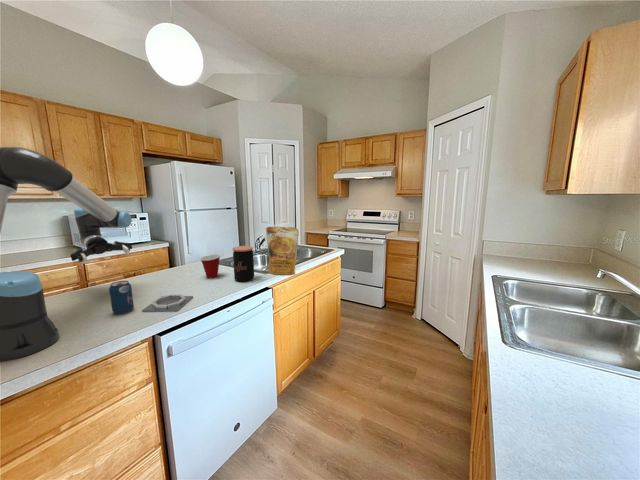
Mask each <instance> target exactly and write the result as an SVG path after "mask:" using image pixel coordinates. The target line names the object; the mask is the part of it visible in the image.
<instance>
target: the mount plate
mask: <svg viewBox="0 0 640 480" xmlns="http://www.w3.org/2000/svg"><path fill="white" fill-rule="evenodd" d="M193 298H194V296H193V295H183V294H168V295H164V296H160V297H157V298H156V299H154V300H153V301H152V302H151V303H150V304H148V305H147V306H146V307H144V308H143V309H141V313H158V312H159V313H161V312H162V313H166V312H167V313H168V312H170V313H171V312H173V313H174V312H175V313H176V312H179V311H180V310H181V309H182V308H184V307H185V306H186V305H187V304H188V303H189V302H190V301H191V300H192V299H193Z"/></svg>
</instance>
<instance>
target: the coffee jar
mask: <svg viewBox="0 0 640 480" xmlns="http://www.w3.org/2000/svg"><path fill="white" fill-rule="evenodd" d="M253 250H254V247H253V246H251V245H239V246H235V247H233V248H232V251H233V252H232V259H233V260H232V261H233V274H234V280H235V282H239V283H247V282H251V281H253V280H254V278H255V265H254V264H255V260H254V251H253Z"/></svg>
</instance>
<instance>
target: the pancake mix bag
mask: <svg viewBox="0 0 640 480" xmlns="http://www.w3.org/2000/svg"><path fill="white" fill-rule="evenodd" d="M265 233H266V240H267V241H266V243H267V252H268V263H269V269H268V270H269V271H268V274H271V275H276V276H294V275H296V262H297V253H298V245H299V229H298V228H297V227H295V226H294V227H291V226H290V227H286V226H267V227H265Z"/></svg>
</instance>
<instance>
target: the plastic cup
mask: <svg viewBox="0 0 640 480" xmlns="http://www.w3.org/2000/svg"><path fill="white" fill-rule="evenodd" d="M220 259H221V255H220V254H208V255H205V256H202V257H200V258H199V260H200V262H201V263H202V267H203V269H204V273H205V276H206V278H207V279H215V278H217V277H218V275H219V269H220V268H219V267H220V266H219V265H220Z"/></svg>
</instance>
